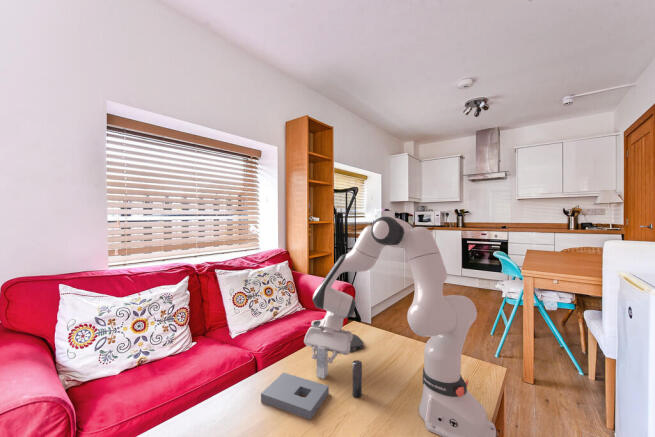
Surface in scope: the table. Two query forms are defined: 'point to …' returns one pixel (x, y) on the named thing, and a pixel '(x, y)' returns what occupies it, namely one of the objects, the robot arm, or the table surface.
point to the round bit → (357, 379)
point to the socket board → (295, 395)
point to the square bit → (322, 361)
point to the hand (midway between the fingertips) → (321, 360)
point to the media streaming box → (356, 343)
